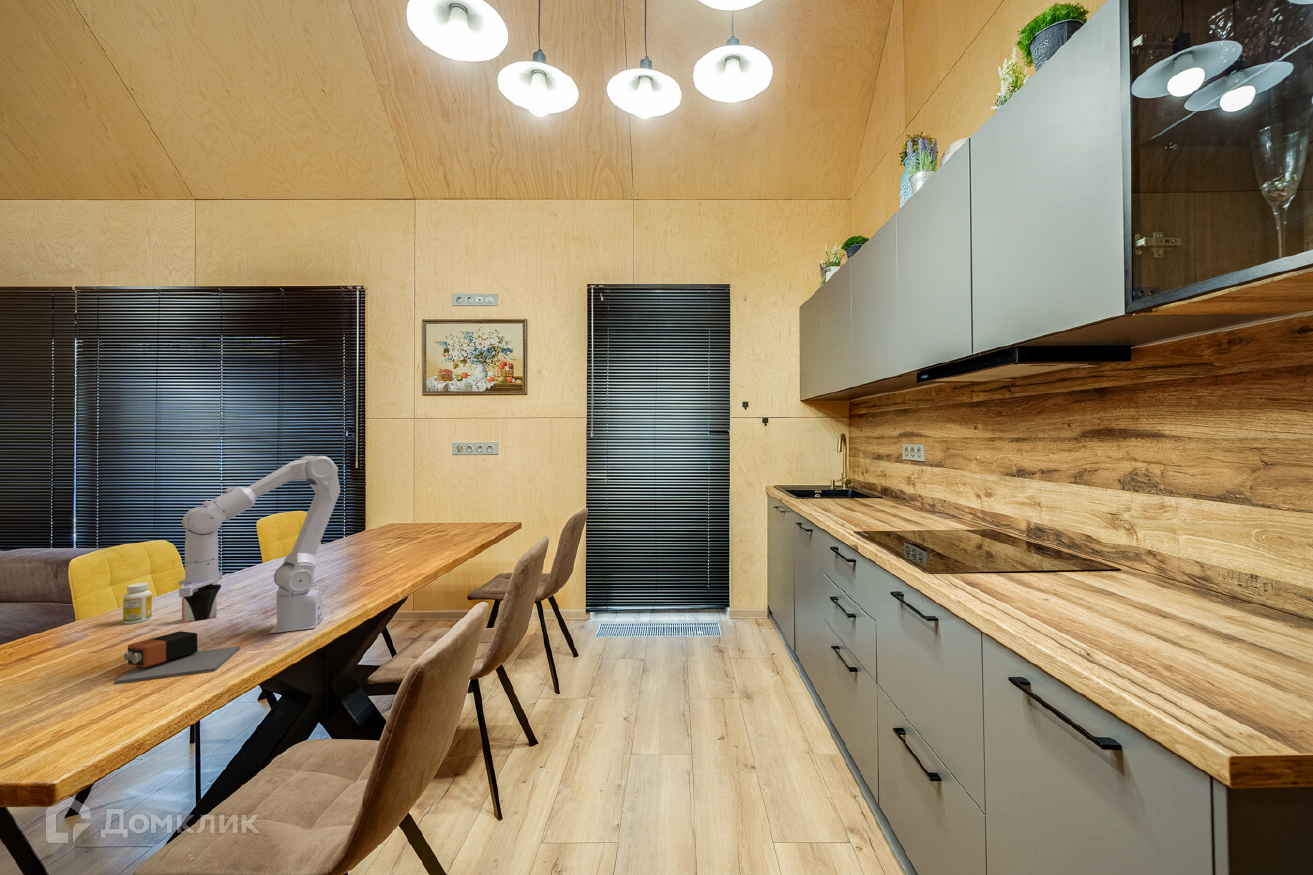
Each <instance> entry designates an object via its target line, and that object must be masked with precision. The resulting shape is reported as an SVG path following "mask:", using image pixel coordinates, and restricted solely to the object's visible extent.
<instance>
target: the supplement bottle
mask: <svg viewBox="0 0 1313 875" xmlns="http://www.w3.org/2000/svg"><path fill="white" fill-rule="evenodd" d="M149 584H150V583H149V582H138V583H133V584H129V585H127V587H126V591H127V593H126V594H124V596H123V598H122V609H123V610H122V611H123V612H122V617H123V618H122V623H123V624H125V625H134V624H141V623H143V622H146V621H149V620H151V618H152V617H153V616H152V615H153V614H152V610H153V608H152V607H153V592H152V591H151V590H148V589H149V588H150V586H149Z"/></svg>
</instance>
